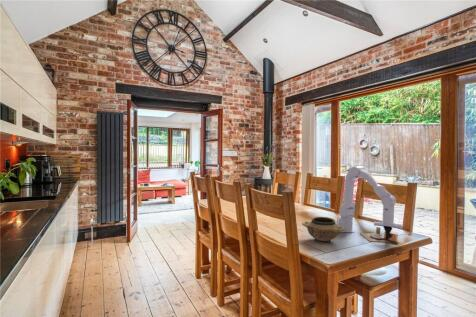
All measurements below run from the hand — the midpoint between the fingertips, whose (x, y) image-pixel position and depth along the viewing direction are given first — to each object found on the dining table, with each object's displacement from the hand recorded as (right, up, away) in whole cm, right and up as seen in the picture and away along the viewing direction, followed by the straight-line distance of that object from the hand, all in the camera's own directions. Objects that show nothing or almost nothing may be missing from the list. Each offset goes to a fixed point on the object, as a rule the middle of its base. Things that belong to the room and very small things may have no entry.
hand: (387, 239), depth 161 cm
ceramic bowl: (-38, -2, 0) cm, 38 cm away
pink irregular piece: (0, -1, +5) cm, 5 cm away
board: (-2, -2, +7) cm, 7 cm away
